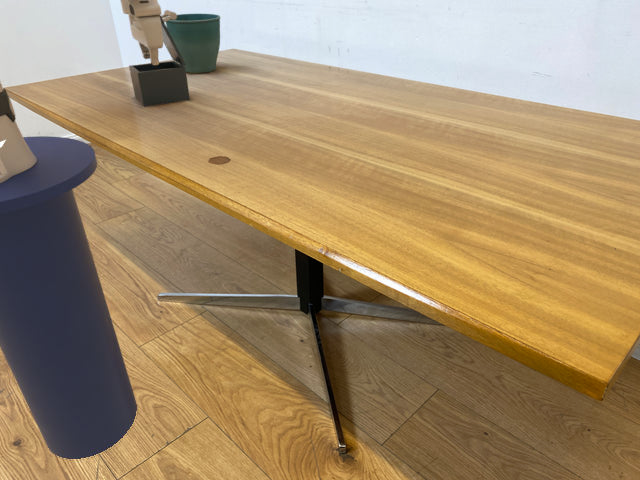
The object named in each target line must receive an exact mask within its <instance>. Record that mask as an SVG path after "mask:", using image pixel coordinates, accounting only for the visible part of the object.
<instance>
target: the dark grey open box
mask: <svg viewBox="0 0 640 480" xmlns="http://www.w3.org/2000/svg"><path fill="white" fill-rule="evenodd" d="M128 68H129V73H130V78H131V83H132V88H133V93H134V99H136V100H137V101H138V102H139V103H140V104H141V105H142V106H143V107H144V108H146V107H152V106H160V105H165V104H173V103H181V102H186V101H190V100H191V98H190V91H189V83H188V77H187V76H188V75H187V72H186V69H185V67H184V66H182V65H180V64H179V63H178V62H176V61H174V60H169V61H168V60H167V61H159V65H152V64H151V62H150V63H149V62H148V63H140V64H131V65H128Z"/></svg>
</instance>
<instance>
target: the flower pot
mask: <svg viewBox="0 0 640 480" xmlns="http://www.w3.org/2000/svg"><path fill="white" fill-rule="evenodd" d="M165 18H166V17H165ZM165 25H166V27H167V29H168V31H169V33H170V35H171V36H172V38H173V40H174V42H175V44H176V46H177V48H178V50H179V52H180V54H181V56H182V58H183V60H184V62H185V63H186V65H185V66H184V67H185V69H186V73H189V74H203V73H210V72H213V71H215V70H216V69H217V62H218V56H219V52H220V46H221V15H219V14H216V13H180V14H177V18H176V19H175V20H172V19H170V20H168V21H166V22H165ZM180 65H181V64H180ZM182 66H183V65H182Z"/></svg>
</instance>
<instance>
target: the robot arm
mask: <svg viewBox="0 0 640 480" xmlns="http://www.w3.org/2000/svg"><path fill="white" fill-rule="evenodd" d="M120 4H121V10H122V13H123V15H128V22H129V26H130V32H131V35H132V38H133V39H134V40H135V41H137V43H138V47H139V49H140V51H141V54H142V58H143V59H145V60H150V63H151V64H152V65H159V62H160V59H159V49H162V48H163V47H164V42H163V35H162V26H161V20H160V17H159V15H163V14H162V8H161V5H160V3H159V1H158V0H120ZM16 116H17V115H16V112H15V108H14V106H13V103H12V100H11V98H10V95H9V94H8V91H7V90H6V89H5V88H4V87H3V84H2V82H1V80H0V183H2V182H4V181H6V180H7V179H9V178H10V177H12V176H14V175H17V174H19V173H21V172H24V171H26V170H28V169H29V168H31V167H32V166H34V165H35V163H36V162H37V158H36V157H35V155H34V154H33V153H32V151H31V150H30V148H29V147H28V145H27V143H26V142H25V140H24V138H23V137H24V136H23V134H22V132H21V130H20V128H19V125H18V123H17V121H16V119H17V118H16Z"/></svg>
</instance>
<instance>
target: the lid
mask: <svg viewBox="0 0 640 480" xmlns="http://www.w3.org/2000/svg"><path fill="white" fill-rule="evenodd" d="M177 15H178V14H177V13H176V12H174V11H171V10H168V9H165V10H164V11H163V14H161V15H159V17H160V20H161V26H162V35H163V45H164V46H165V48H166V50H167V52H168V53H169V56H170V58H171V59H172V61H175V62H177V63H179V64H181V65H183V66H185V65H186V63H185V62H184V60H183V58H182V56H181V54H180V52H179V50H178V48H177V46H176V44H175V42H174V40H173V38H172V36H171V35H170V33H169V31H168V29H167V26H166V21H168V20H170V19H172V20H175V19H176V18H177ZM165 17H166V18H165Z"/></svg>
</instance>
